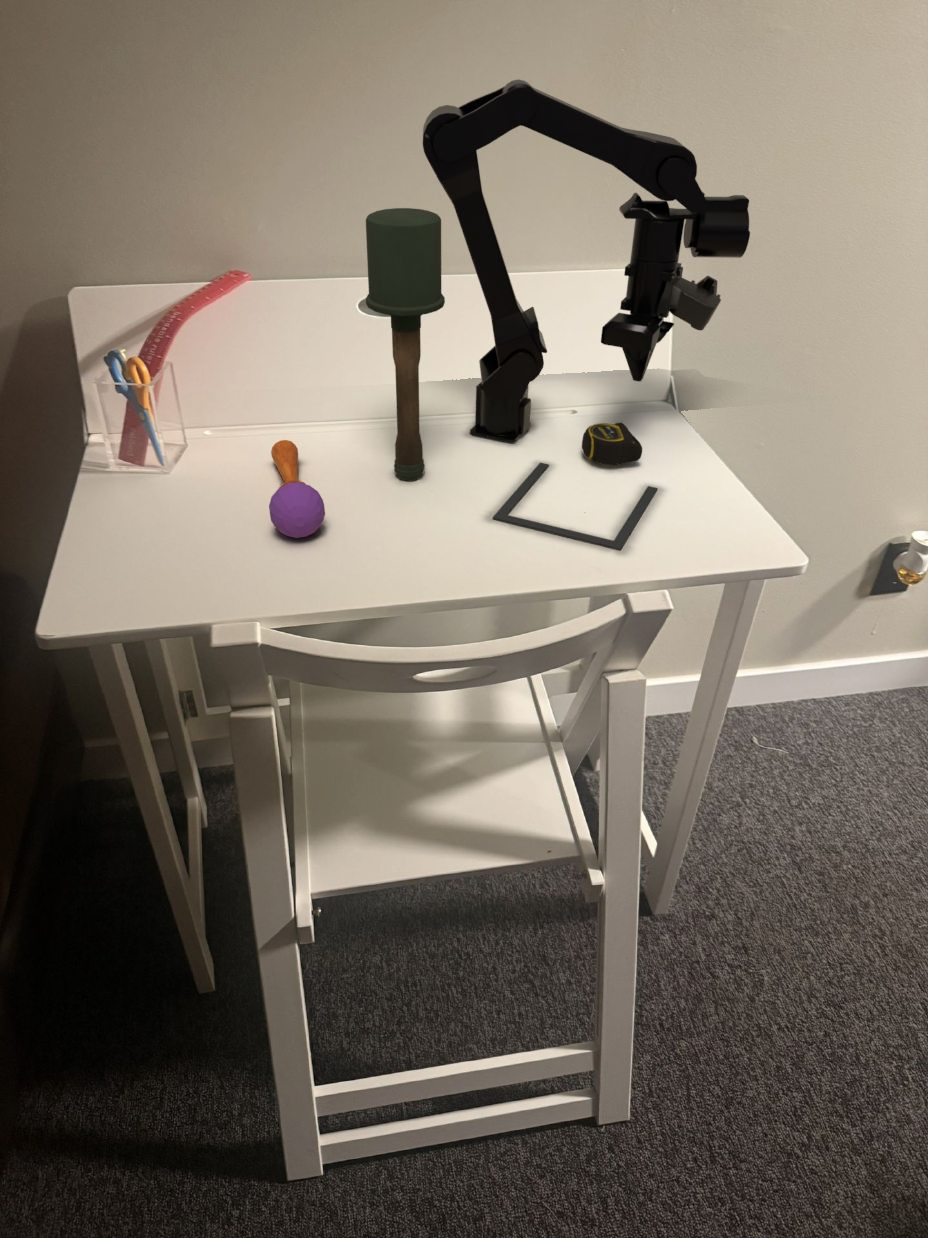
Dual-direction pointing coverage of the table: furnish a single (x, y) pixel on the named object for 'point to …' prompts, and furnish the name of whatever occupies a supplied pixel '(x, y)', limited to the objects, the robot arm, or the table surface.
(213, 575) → the table surface
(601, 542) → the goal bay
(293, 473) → the purple maraca
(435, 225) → the potato masher grenade
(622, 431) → the tape measure
